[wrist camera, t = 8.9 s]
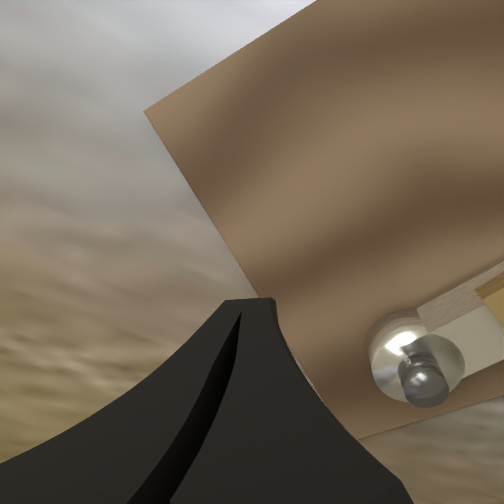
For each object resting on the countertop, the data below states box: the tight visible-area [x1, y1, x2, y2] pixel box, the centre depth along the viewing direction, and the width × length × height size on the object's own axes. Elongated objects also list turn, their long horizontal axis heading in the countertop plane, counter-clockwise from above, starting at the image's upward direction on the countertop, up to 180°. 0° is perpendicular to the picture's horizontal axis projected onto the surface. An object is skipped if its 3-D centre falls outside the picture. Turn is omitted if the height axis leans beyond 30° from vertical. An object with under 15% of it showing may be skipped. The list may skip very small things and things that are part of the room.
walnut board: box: [143, 0, 504, 440], centre depth 18 cm, size 21×21×1 cm
